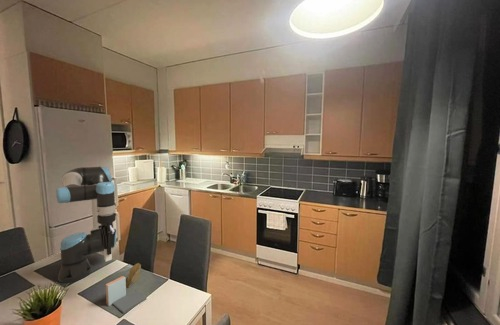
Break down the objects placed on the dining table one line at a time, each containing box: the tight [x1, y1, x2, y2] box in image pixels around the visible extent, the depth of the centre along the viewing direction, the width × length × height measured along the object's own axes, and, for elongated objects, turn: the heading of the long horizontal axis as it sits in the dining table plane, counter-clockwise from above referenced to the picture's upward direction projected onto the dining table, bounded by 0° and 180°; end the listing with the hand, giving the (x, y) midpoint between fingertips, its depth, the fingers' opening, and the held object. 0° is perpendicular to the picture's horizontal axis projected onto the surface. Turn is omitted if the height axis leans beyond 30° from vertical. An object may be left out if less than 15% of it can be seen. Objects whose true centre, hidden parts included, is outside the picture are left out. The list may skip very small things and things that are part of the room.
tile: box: [105, 275, 127, 307], centre depth 106 cm, size 2×8×10 cm, turn 147°
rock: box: [126, 262, 142, 289], centre depth 120 cm, size 11×9×10 cm
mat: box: [112, 290, 147, 314], centre depth 105 cm, size 10×11×1 cm
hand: (108, 260), depth 108 cm, fingers closed
